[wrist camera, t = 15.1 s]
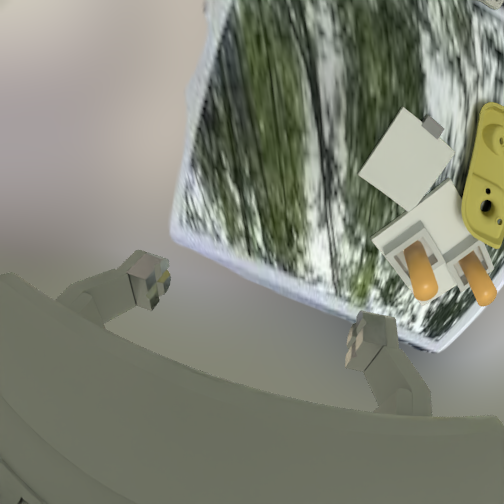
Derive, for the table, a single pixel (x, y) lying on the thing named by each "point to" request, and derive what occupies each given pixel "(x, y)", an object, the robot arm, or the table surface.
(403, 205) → the lid
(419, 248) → the pin
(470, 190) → the plastic component
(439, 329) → the table surface
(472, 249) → the housing
